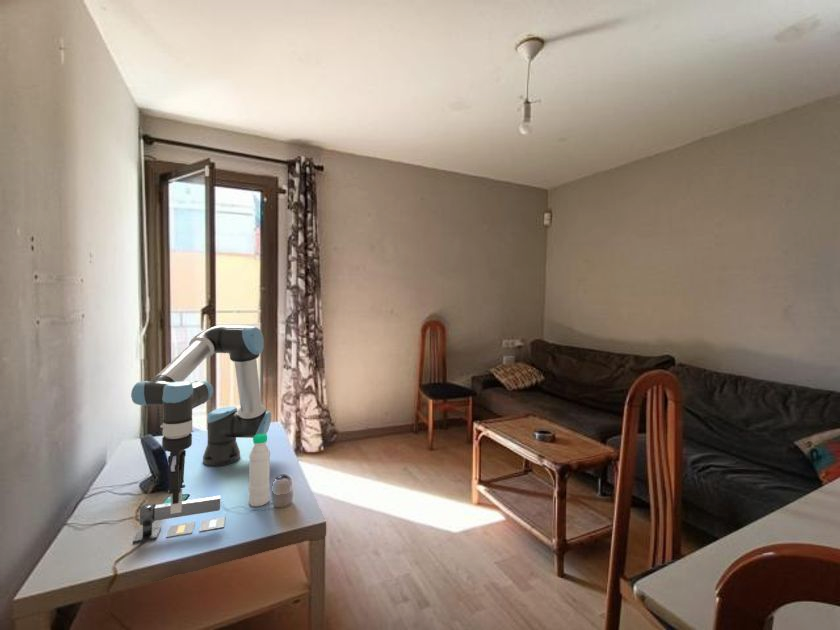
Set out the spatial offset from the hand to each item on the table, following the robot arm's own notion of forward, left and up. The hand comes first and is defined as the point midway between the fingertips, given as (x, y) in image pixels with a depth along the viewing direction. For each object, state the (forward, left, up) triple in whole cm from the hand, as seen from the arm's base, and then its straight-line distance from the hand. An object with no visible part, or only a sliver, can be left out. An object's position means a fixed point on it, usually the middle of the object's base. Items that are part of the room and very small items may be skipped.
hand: (176, 511), depth 115 cm
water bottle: (-17, +23, -10) cm, 31 cm away
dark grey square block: (-7, -9, -10) cm, 15 cm away
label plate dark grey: (-7, +9, -10) cm, 15 cm away
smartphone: (-24, -6, -11) cm, 27 cm away
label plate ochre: (-7, 0, -10) cm, 12 cm away
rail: (-7, 0, -5) cm, 9 cm away
